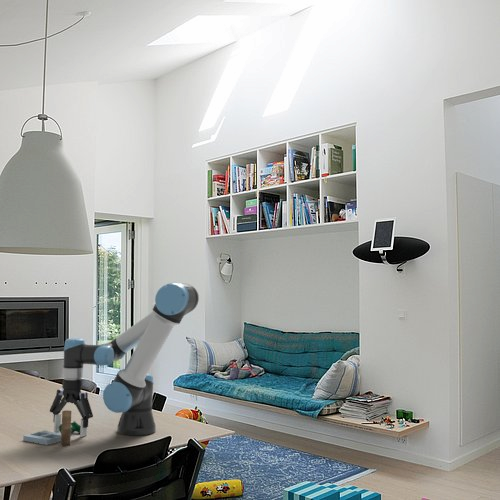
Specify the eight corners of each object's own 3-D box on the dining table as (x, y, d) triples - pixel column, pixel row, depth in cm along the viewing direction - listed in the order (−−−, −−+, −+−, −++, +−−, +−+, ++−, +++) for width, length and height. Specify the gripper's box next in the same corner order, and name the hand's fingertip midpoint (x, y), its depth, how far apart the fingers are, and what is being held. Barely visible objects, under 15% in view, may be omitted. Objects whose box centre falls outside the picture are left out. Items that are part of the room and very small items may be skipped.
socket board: (67, 439, 232) (67, 434, 232) (46, 445, 223) (47, 440, 223) (43, 435, 237) (43, 430, 237) (23, 440, 229) (23, 435, 229)
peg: (71, 444, 225) (73, 411, 226) (65, 446, 222) (66, 412, 223) (65, 443, 226) (66, 410, 227) (58, 445, 224) (60, 411, 224)
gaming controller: (81, 436, 243) (75, 424, 246) (85, 430, 242) (79, 418, 245) (61, 440, 236) (55, 427, 239) (65, 434, 235) (59, 421, 238)
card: (83, 432, 243) (83, 432, 243) (65, 437, 235) (65, 437, 235) (74, 430, 246) (74, 430, 246) (56, 435, 237) (57, 435, 237)
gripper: (103, 380, 239) (101, 436, 238) (56, 374, 251) (53, 427, 249) (90, 382, 233) (87, 440, 231) (42, 376, 244) (39, 431, 243)
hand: (70, 433), depth 240 cm, fingers open, 13 cm apart
